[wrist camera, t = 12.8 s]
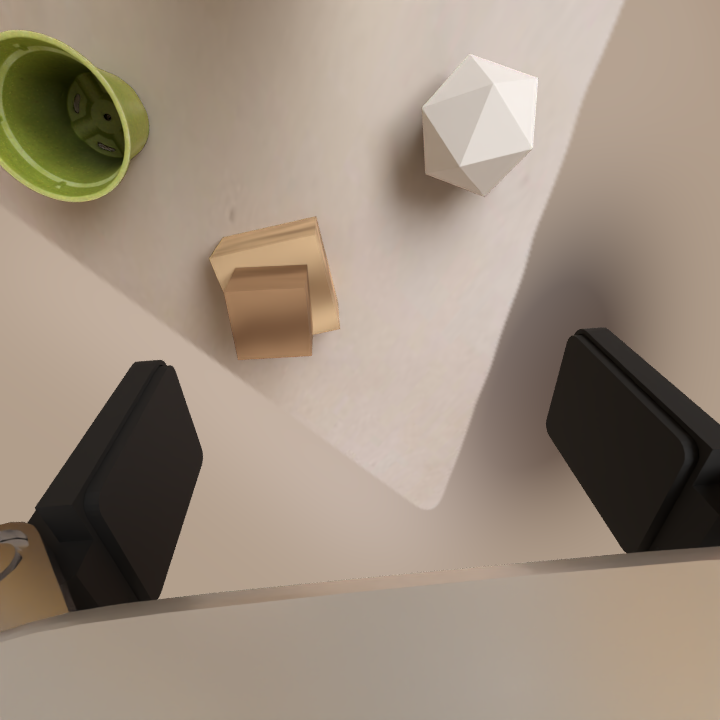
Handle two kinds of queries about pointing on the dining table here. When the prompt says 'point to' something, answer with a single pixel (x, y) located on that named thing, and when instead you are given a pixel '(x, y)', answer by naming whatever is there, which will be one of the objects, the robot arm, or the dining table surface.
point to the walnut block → (270, 311)
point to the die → (479, 124)
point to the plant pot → (64, 119)
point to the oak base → (284, 262)
